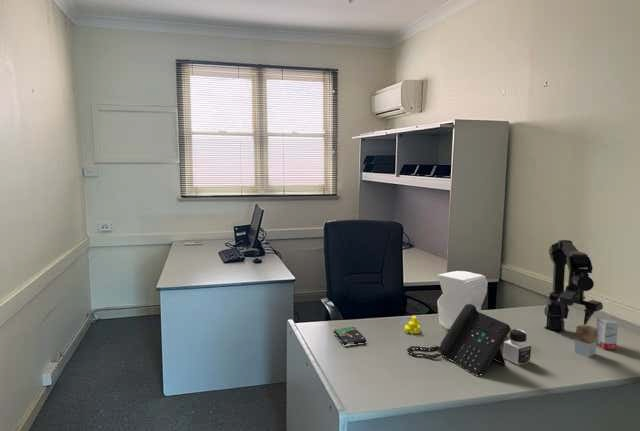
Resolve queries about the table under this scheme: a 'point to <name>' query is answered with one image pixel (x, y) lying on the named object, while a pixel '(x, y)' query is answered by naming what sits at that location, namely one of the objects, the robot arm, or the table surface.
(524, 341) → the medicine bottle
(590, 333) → the walnut cube
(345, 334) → the disk drive
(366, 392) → the table surface
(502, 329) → the office phone
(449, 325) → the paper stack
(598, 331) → the ink box
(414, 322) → the yellow ball pyramid
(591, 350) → the painted cube
